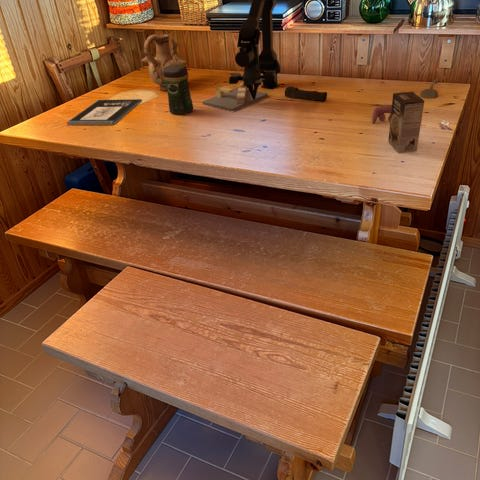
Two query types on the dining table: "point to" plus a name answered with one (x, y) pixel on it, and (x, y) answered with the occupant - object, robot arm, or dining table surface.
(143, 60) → the ceramic vessel
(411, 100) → the coffee box
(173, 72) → the coffee jar
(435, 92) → the soupspoon
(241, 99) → the birch latch bar
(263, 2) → the robot arm
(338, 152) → the dining table surface
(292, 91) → the hand tool
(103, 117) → the sketchbook
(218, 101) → the keeper baseplate
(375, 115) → the toy animal
